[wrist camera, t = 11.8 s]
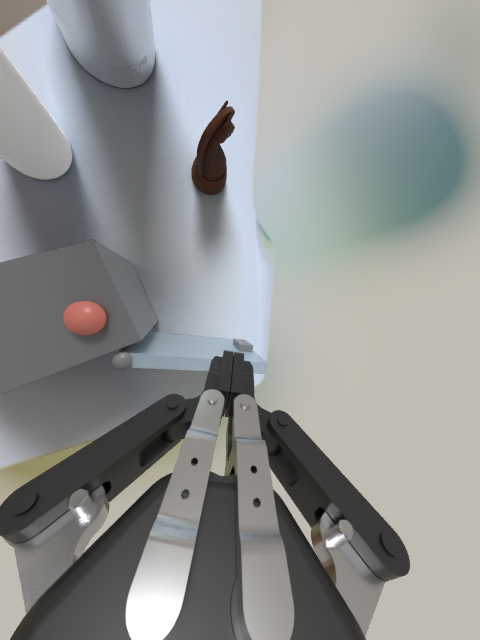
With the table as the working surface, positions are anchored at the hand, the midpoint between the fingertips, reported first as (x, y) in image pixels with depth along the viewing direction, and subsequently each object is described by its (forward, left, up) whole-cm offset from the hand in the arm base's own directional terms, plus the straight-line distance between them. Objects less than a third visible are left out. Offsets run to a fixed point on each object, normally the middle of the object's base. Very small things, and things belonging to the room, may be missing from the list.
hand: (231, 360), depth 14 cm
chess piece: (-17, +11, -16) cm, 26 cm away
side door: (0, -2, -14) cm, 15 cm away
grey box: (-9, -12, -16) cm, 22 cm away
